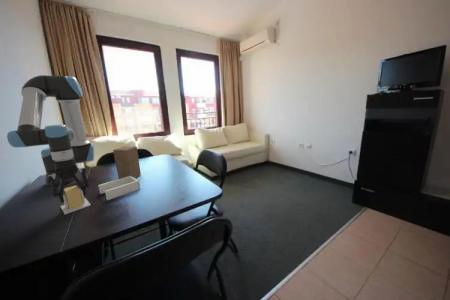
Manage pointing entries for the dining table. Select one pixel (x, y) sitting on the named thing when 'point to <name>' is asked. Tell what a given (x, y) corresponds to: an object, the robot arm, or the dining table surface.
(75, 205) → the block
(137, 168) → the wooden block
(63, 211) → the tile
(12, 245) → the dining table surface
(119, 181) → the white u-shaped frame
